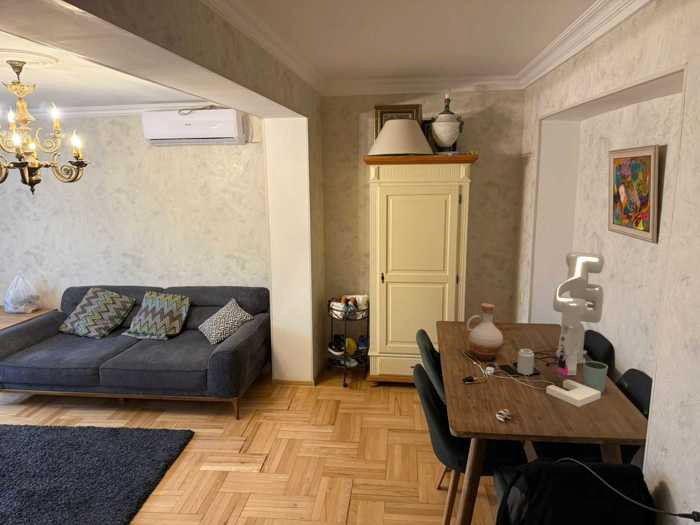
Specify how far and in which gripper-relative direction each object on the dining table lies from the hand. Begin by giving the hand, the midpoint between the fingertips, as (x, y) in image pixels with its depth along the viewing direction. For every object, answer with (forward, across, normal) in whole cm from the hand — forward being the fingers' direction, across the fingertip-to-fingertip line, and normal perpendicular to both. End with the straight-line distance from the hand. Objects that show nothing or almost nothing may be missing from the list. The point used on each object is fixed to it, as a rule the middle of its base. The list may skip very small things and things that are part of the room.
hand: (567, 365), depth 217 cm
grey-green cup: (+13, +14, -5) cm, 20 cm away
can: (+13, +2, +24) cm, 27 cm away
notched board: (+13, 0, -4) cm, 13 cm away
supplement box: (+4, 0, 0) cm, 4 cm away
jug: (+13, 0, +50) cm, 52 cm away
